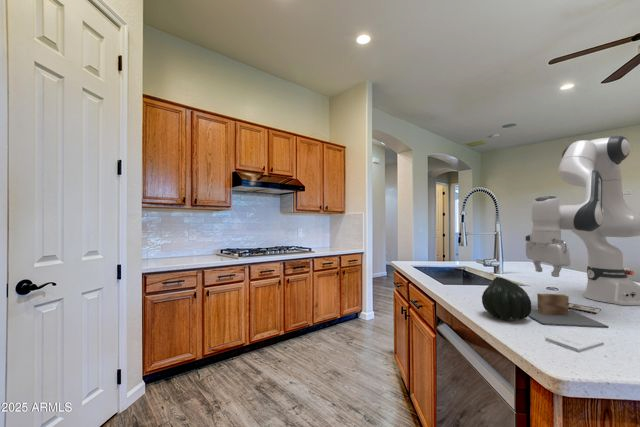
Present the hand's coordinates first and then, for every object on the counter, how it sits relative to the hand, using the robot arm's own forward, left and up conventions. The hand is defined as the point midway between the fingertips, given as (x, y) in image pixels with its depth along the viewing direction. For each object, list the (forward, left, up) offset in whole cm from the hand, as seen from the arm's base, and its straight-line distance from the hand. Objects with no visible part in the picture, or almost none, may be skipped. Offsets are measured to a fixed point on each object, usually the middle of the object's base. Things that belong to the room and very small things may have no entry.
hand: (546, 274), depth 111 cm
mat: (+1, +7, -15) cm, 16 cm away
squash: (+19, +9, -15) cm, 26 cm away
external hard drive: (+10, +29, -15) cm, 34 cm away
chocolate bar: (-13, -9, -15) cm, 22 cm away
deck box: (+1, +4, -14) cm, 15 cm away
